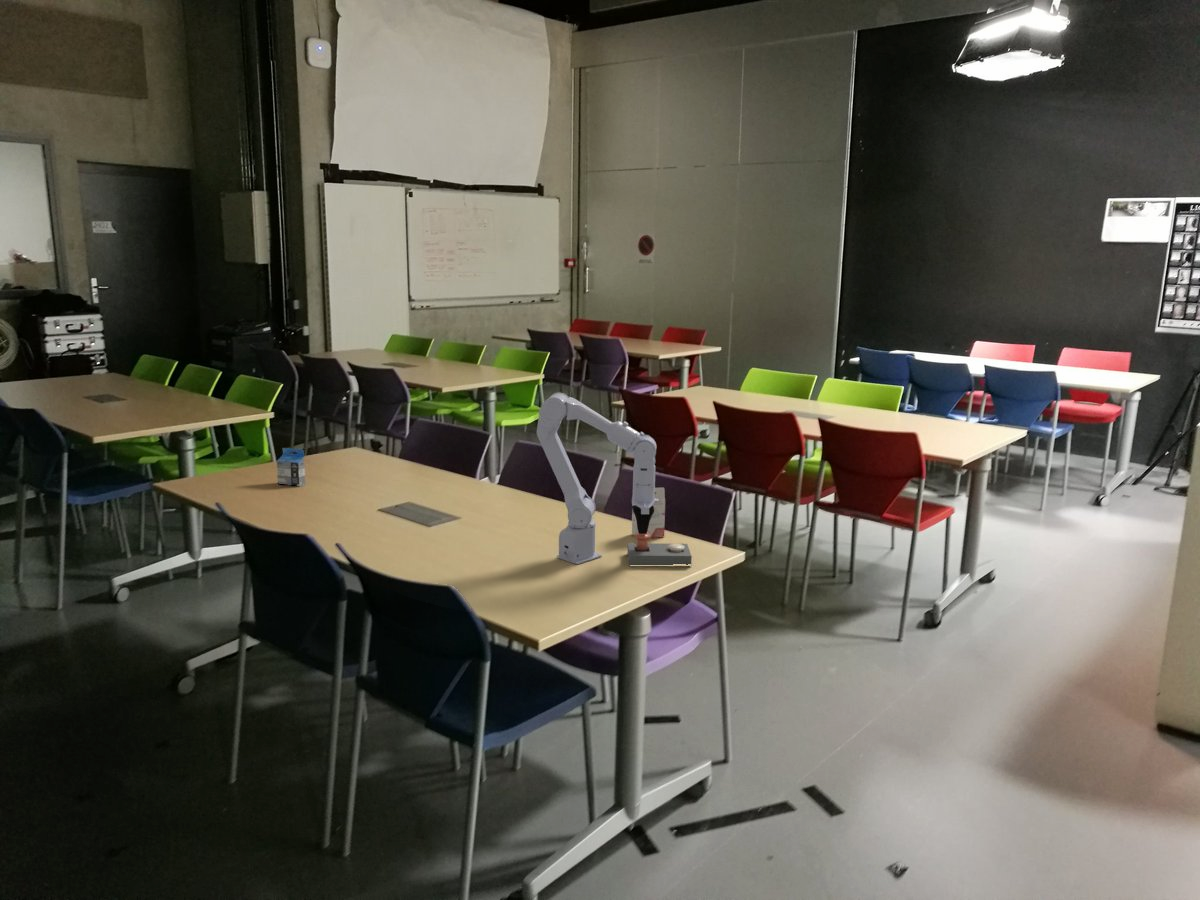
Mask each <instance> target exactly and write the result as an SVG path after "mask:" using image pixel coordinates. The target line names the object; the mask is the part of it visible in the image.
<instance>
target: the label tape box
mask: <svg viewBox="0 0 1200 900" xmlns="http://www.w3.org/2000/svg"><path fill="white" fill-rule="evenodd" d="M305 463H306V462H305V453H304V449H298V448H289V447H288V448H287V447H282V455H281V456H280V457H279V458H278V459H277V460H276V473H277V474H276V476H277V484H278V483H279V484H288V485H287V486H290V485H295V486H294V487H301V486H300V485H303V484H305V485H306V471H305V470H306V469H305V467H306V466H305ZM279 484H278V485H279ZM303 486H304V485H303Z"/></svg>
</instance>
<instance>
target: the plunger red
mask: <svg viewBox="0 0 1200 900" xmlns="http://www.w3.org/2000/svg"><path fill="white" fill-rule="evenodd" d="M633 537H634V538H635V539H636V543H637V545H636V549H638V550H647V549H648V543H649V539H652V538H651V534H649V533H647V534H639V533H635V534H634V536H633Z"/></svg>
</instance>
